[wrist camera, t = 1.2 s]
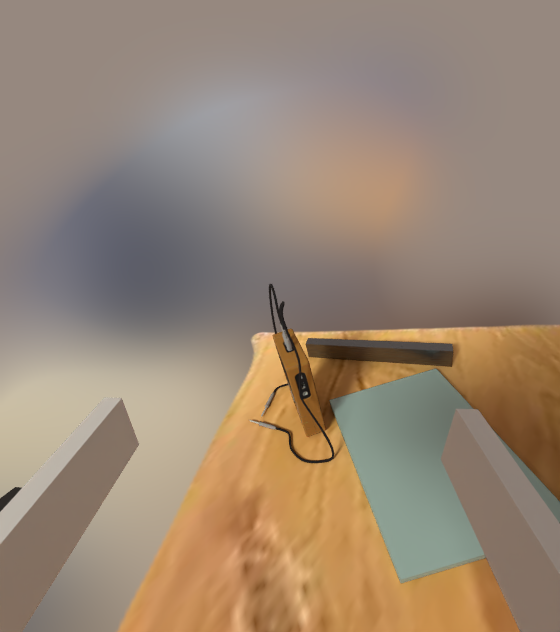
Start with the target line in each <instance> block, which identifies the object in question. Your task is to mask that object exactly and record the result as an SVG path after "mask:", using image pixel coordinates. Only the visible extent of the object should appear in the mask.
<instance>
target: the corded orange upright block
mask: <svg viewBox="0 0 560 632" xmlns="http://www.w3.org/2000/svg"><path fill="white" fill-rule="evenodd" d="M271 288H272V291H273V295H274V299H275V304H276V309H277V313H278V317H279V320H280V323H281V324H280V326H281V329H282V332H280V333H277V332H276V327H275V322H274V316H273V308H272V299H271ZM269 299H270V307H271V315H272V320H273V325H274V330H275V334H274V335H273V339H274V342H275V345H276V348H277V351H278V354H279V358H280V361H281V364H282V367H283V370H284V373H285V376H286V379H287V382H288V384H284V385H281V386H279V387H277V388H276V389H275V390H274V392H273V393H272V394H271V396H270V398H269V400H268V402H267V403H266V405H265V409H264V411H263V413H262V415H261V417H262V416H263V414H264V412H265V410H266V408H268V407H269V404H270V402H271V401H272V399H273V397H274V393H275V392H276V390H277V389H278V388H280V387H283V386H287V385H289V388H290V391H291V394H292V398H293V400H294V403H295V406H296V409H297V411H298V414H299V417H300V419H301V422H302V425H303V427H304V430H305V433H306V436H307V437H309V436H312V435H314V434H317V433H320V432H322V433H323V434H324V436H325V438H326V439H327V441H328V443H329V445H330V447H331V451H332V457H331V458H330V459H327V460H319V461H309V460H304V459H302V458H301V457H299V456H298V455H297V454H296V453H295V452H294V450H293V449H292V447H291V436H290V433H289V432H288V431H286V430H284V429H281V428H277V427H275V426H273V425H270V424H266V423H263V422H261V421H260V422H256V421H252V420H249V421H251V422H254V423H258V424H259V426H264V427H267V428H270V429H277V430H280V431H283V432H286V433H288V435H289V446H290V449H291V451H292V452H293V454H294V455H295V456H296V457H297V458H298V459H300V460H301V461H304V462H307V463H323V462H329V461H331V460H332V459H333V458H334V450H333V447H332V445H331V442H330V440H329V439H328V437H327V435H326V433H325V432H324V431H325V430H326V428H325V424H324V420H323V416H322V412H321V408H320V404H319V400H318V396H317V392H316V388H315V384H314V380H313V376H312V372H311V368H310V364H309V361H308V359H307V357H306V355H305V353H304V351H303V349H302V347H301V345H300V343H299V341H298V339H297V337H296V336H295V334H294V331H293V330H292V329H287V327H286V324H285V321H284V318H283V307H284V302H282V303H281V305H280V308H279V309H278V304H277V299H276V295H275V291H274V288H273V285H272V284H270V285H269Z"/></svg>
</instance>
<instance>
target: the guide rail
mask: <svg viewBox="0 0 560 632" xmlns="http://www.w3.org/2000/svg"><path fill="white" fill-rule="evenodd" d="M306 347H307V351H308V355H309V357H318V358H333V359H348V360H363V361H377V362H392V363H407V364H422V365H436V366H451V367H452V358H453V346H452V344H444V343H418V342H393V341H368V340H342V339H317V338H308V340H307V342H306Z"/></svg>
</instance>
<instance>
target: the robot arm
mask: <svg viewBox="0 0 560 632" xmlns="http://www.w3.org/2000/svg"><path fill="white" fill-rule="evenodd" d="M138 445H139V443H138V441H137V438H136V435H135V433H134V430H133V427H132V424H131V422H130V419H129V416H128V414H127V411H126V408H125V406H124V403H123V400H122V398H104V399H103V400H102V401H101V402H100V403H99V404H98V405H97V406H96V407H95V408H94V410H93V411H92V412H91V413H90V414H89V415H88V416H87V417H86V418H85V420H84V421H83V422H82V423H81V424H80V425H79V426H78V427H77V428H76V429H75V431H74V432H73V433H72V434H71V435H70V436H69V437H68V438H67V439H66V440H65V442H64V443H63V444H62V445H61V446H60V447H59V448H58V449H57V450H56V451H55V452H54V454H53V455H52V456H51V457H50V458H49V459H48V460H47V461H46V462H45V463H44V465H43V466H42V467H41V468H40V469H39V470H38V471H37V472H36V473H35V475H34V476H33V477H32V478H31V479H30V480H29V481H28V482H27V483H26V484H25V485H24V487H23V488H19V487H15V488H14V489H12V490H11V491H10V492H8V493H7V494H6V495H4V496H3V497H2V498H0V632H22V631H23V629H24V628H25V626H26V625H27V623H28V621H29V620H30V618H31V616H32V615H33V613H34V612H35V610H36V609H37V607H38V605H39V604H40V602H41V601H42V599H43V597H44V596H45V594H46V592H47V591H48V589H49V588H50V586H51V584H52V583H53V581H54V580H55V578H56V577H57V575H58V573H59V572H60V570H61V569H62V567H63V565H64V564H65V562H66V561H67V559H68V557H69V556H70V554H71V553H72V551H73V549H74V548H75V546H76V545H77V543H78V541H79V540H80V538H81V536H82V535H83V533H84V532H85V530H86V528H87V527H88V525H89V524H90V522H91V520H92V519H93V517H94V516H95V514H96V512H97V511H98V509H99V508H100V506H101V504H102V502H103V501H104V499H105V498H106V496H107V495H108V493H109V492H110V490H111V488H112V487H113V485H114V484H115V482H116V480H117V479H118V477H119V476H120V474H121V472H122V471H123V469H124V468H125V466H126V464H127V463H128V461H129V460H130V458H131V456H132V455H133V453H134V452H135V450H136V448H137V447H138ZM441 461H442V463H443V465H444V467H445V470H446V472H447V474H448V476H449V478H450V480H451V483H452V485H453V487H454V489H455V491H456V493H457V496H458V498H459V500H460V502H461V504H462V506H463V509H464V511H465V513H466V515H467V517H468V519H469V522H470V524H471V526H472V528H473V530H474V532H475V535H476V537H477V539H478V541H479V543H480V545H481V548H482V550H483V552H484V554H485V556H486V558H487V561H488V563H489V565H490V567H491V569H492V571H493V574H494V576H495V578H496V580H497V582H498V584H499V587H500V589H501V591H502V593H503V595H504V597H505V600H506V602H507V604H508V606H509V608H510V610H511V613H512V615H513V617H514V619H515V621H516V623H517V626H518V628H519V630H520V632H560V523H559V522H558V520H557V519H556V517H555V516H554V515H553V513H552V512H551V510H550V509H549V508H548V506H547V505H546V503H545V502H544V501H543V499H542V498H541V497H540V495H539V494H538V492H537V491H536V490H535V488H534V487H533V485H532V484H531V483H530V481H529V480H528V478H527V477H526V476H525V474H524V473H523V471H522V470H521V469H520V467H519V466H518V464H517V463H516V462H515V460H514V459H513V457H512V456H511V455H510V453H509V452H508V450H507V449H506V448H505V446H504V445H503V444H502V442H501V441H500V439H499V438H498V437H497V435H496V434H495V432H494V431H493V430H492V428H491V427H490V425H489V424H488V423H487V421H486V420H485V418H484V417H483V416H482V414H481V413H480V411H479V410H478V409H456V410H455V413H454V417H453V420H452V423H451V427H450V430H449V433H448V436H447V440H446V443H445V446H444V450H443V453H442V456H441Z"/></svg>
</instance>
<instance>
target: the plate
mask: <svg viewBox="0 0 560 632" xmlns="http://www.w3.org/2000/svg"><path fill="white" fill-rule="evenodd" d="M329 401H330V405H331V408H332V410H333V413H334V415H335V418H336V420H337V423H338V425H339V428H340V430H341V433H342V435H343V438H344V441H345V443H346V446H347V448H348V451H349V453H350V456H351V458H352V461H353V463H354V466H355V468H356V471H357V474H358V476H359V479H360V481H361V484H362V486H363V489H364V491H365V494H366V496H367V499H368V501H369V504H370V507H371V509H372V512H373V514H374V517H375V519H376V522H377V524H378V527H379V529H380V532H381V535H382V537H383V540H384V542H385V545H386V547H387V550H388V552H389V555H390V557H391V560H392V562H393V565H394V568H395V570H396V573H397V575H398V578H399V580H400V583H404V582H407V581H411V580H414V579H417V578H421V577H424V576H427V575H431V574H434V573H437V572H441V571H444V570H447V569H451V568H454V567H457V566H461V565H464V564H467V563H471V562H474V561H477V560H480V559H484V558H486V556H485V554H484V552H483V550H482V548H481V545H480V543H479V541H478V539H477V537H476V535H475V532H474V530H473V528H472V526H471V524H470V522H469V519H468V517H467V515H466V513H465V511H464V509H463V506H462V504H461V502H460V500H459V498H458V496H457V493H456V491H455V489H454V487H453V485H452V483H451V480H450V478H449V476H448V474H447V472H446V470H445V467H444V465H443V463H442V461H441V456H442V453H443V450H444V446H445V443H446V440H447V436H448V433H449V430H450V427H451V423H452V420H453V417H454V413H455V410H456V409H473V408H472V407H471V406H470V404H469V403H468V402H467V401H466V400H465V399H464V398H463V397H462V396H461V395H460V394H459V393H458V392H457V390H456V389H455V388H454V387H453V386H452V385H451V384H450V383H449V382H448V381H447V380H446V379H445V378H444V376H443V375H442V374H441V373H440V372H439V371H438V370H437V369H432V370H429V371H426V372H422V373H419V374H416V375H412V376H409V377H406V378H402V379H399V380H395V381H392V382H389V383H385V384H382V385H379V386H375V387H372V388H369V389H365V390H362V391H359V392H355V393H352V394H348V395H345V396H342V397H338V398H335V399H332V400H329ZM492 430H493V429H492ZM493 431H494V430H493ZM494 432H495V431H494ZM495 434H496V432H495ZM496 435H497V434H496ZM497 437H498V438H499V439H500V441H501V442H502V444H503V445H504V446H505V448H506V449H507V450H508V452H509V453H510V455H511V456H512V457H513V459H514V460H515V462H516V463H517V464H518V466H519V467H520V469H521V470H522V471H523V473H524V474H525V476H526V477H527V478H528V480H529V481H530V483H531V484H532V485H533V487H534V488H535V490H536V491H537V492H538V494H539V495H540V497H541V498H542V499H543V501H544V502H545V503H546V505H547V506H548V508H549V509H550V510H551V512H552V513H553V515H554V516H555V517H556V519H557V520H558V522H559V523H560V501H559V500H558V499H557V498H556V497H555V496H554V495H553V494H552V493H551V492H550V491H549V490H548V488H547V487H546V486H545V485H544V484H543V483H542V482H541V481H540V480H539V479H538V478H537V477H536V476H535V474H534V473H533V472H532V471H531V470H530V469H529V468H528V467H527V466H526V465H525V464H524V463H523V462H522V460H521V459H520V458H519V457H518V456H517V455H516V454H515V453H514V452H513V451H512V450H511V449H510V448H509V446H508V445H507V444H506V443H505V442H504V441H503V440H502V439H501V438H500V437H499V436H498V435H497Z"/></svg>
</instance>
